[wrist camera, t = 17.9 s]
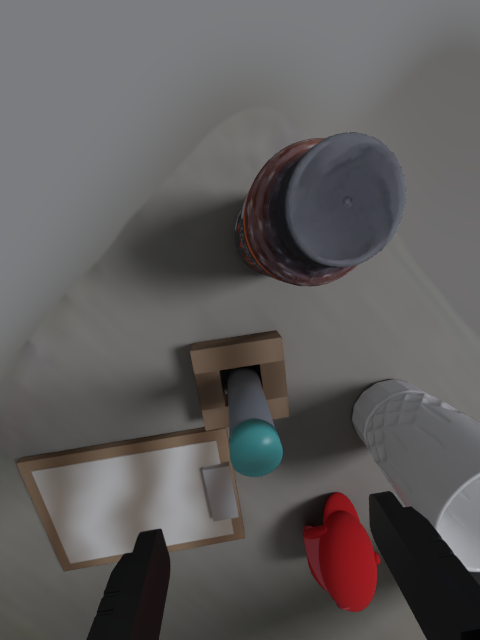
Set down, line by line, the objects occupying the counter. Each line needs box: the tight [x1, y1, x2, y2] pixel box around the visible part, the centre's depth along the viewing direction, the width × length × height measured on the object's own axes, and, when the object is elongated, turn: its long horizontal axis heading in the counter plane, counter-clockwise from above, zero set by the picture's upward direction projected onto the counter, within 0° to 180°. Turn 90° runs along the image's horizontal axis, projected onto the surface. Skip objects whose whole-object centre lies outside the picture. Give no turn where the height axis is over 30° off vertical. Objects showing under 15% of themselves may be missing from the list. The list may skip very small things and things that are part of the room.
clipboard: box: [16, 427, 245, 571], centre depth 23 cm, size 18×13×1 cm
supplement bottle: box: [235, 132, 406, 286], centre depth 13 cm, size 6×6×11 cm
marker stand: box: [190, 331, 290, 431], centre depth 20 cm, size 7×7×2 cm
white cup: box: [352, 379, 480, 572], centre depth 18 cm, size 8×8×10 cm
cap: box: [303, 492, 380, 612], centre depth 23 cm, size 8×6×6 cm
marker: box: [227, 366, 283, 477], centre depth 17 cm, size 3×3×9 cm
